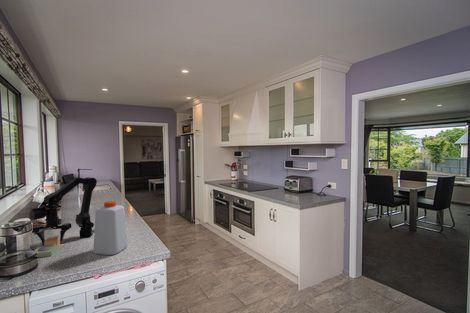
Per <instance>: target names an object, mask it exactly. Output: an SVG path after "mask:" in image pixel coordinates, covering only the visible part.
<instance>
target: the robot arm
mask: <svg viewBox="0 0 470 313" xmlns="http://www.w3.org/2000/svg"><path fill="white" fill-rule="evenodd" d="M97 183H98V181H97V179H96V177H88V176H87V177H85V178H83V177H77V176H75V177H74V178H72V179H71V180H69V182H67V183H65V184H64V185H63V186H62V187H60V188H58V189H57V190H56V191H53V192H51V193H48V194H47V195H46V196H44V197H43V201H42V202H41V203H40V205H39V207H32V208H30V211H29V213H28V216H29V219H30V221H36V220H41V219H44V222H45V225H44V224H40V225H35V226H34V227H32V228H33V231H32V230H31V233H32V234H34V235H37V236H38V238H39V239H40V241H41V243H42V242H43V243H44V242H45V238H46V237H45V231H47V230H60V232H59V237H60V240H61V241H62V240H63V239H64V238H65V237H64V236H65V233H66V232H67V231H69V230H70V229H71V228H72V224H71V223H70V222H68V223H62V221H63V219H62V218H60V217H59V216H58V215H59V213H58V209H59V208H62V205H60V204H59V203H60V202H61V200H62V199H63V197H64V196H65V195H67V194H68V193H70V191H72V190H73V189H75V188H76V187H77V186H79V184H82V188H83V196H82V200H81V201H82V203H81V207H80V212H79V213H78V214H76V215H75V223H76V225H77V226H78V227H79V228H80V229H79V239H86V238H91V237H92V236H94V233H93V228H94V227H95V222H92V221H91V215H90V207H91V204H92V203H91V201H92V197H93V196H92V195H93V191H94V190H95V189H96V186H97Z"/></svg>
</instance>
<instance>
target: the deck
mask: <svg viewBox="0 0 470 313" xmlns="http://www.w3.org/2000/svg"><path fill="white" fill-rule="evenodd" d="M45 241H46V240H45ZM64 243H66V241H65V238H63V240H62V241H61V240H60V244H64ZM33 249H34V250H35V251H36V253H37V257H38V258H45V257H46V258H48V257H52V256H53V255H54V254H56V252H58V251H59V250H60V245H53V246H44V243H43V242H42V241H41V242H40V243H39V244H38V245H36V246H35V247H34V248H33Z"/></svg>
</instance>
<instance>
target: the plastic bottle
mask: <svg viewBox="0 0 470 313" xmlns="http://www.w3.org/2000/svg"><path fill="white" fill-rule="evenodd" d="M125 212H126V211H125V206H124V205H120V204H117V202H116V201H115V200H111V201H105V202H104V203H103V206H101V207H98V208H96V209H95V214H94V231H93V232H94V233H93V253H94V254H96V255H100V256H101V255H102V256H114V255H117V254H119V253H120V252H122V251H124V250H125V249H126V248H127V247H128V246H129V245H128V234H127V224H126V214H125Z"/></svg>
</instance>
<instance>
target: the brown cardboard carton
mask: <svg viewBox="0 0 470 313" xmlns="http://www.w3.org/2000/svg"><path fill="white" fill-rule="evenodd" d="M53 245H59V246H60V245H61V243H60V234H56V235H50V236H48V237H47V238H46V241H45V242H44V245H43V246H53Z"/></svg>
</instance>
